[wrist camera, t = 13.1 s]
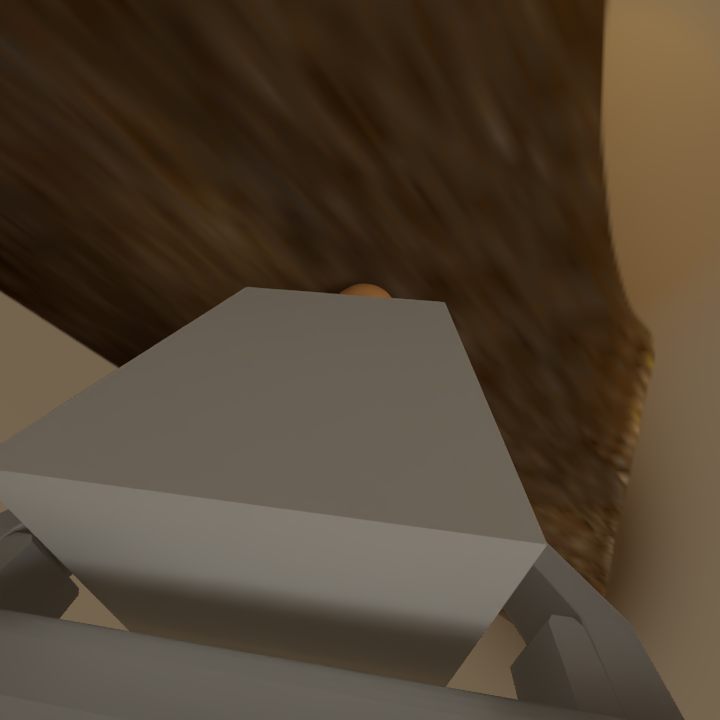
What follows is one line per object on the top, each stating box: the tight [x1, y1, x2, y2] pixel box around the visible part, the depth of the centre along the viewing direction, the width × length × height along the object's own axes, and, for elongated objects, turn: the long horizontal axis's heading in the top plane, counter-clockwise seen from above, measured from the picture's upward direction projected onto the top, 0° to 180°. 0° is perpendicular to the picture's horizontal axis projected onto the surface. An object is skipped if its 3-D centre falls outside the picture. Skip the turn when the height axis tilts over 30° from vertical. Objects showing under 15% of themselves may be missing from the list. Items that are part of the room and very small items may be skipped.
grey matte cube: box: [0, 287, 547, 687], centre depth 8 cm, size 7×7×8 cm
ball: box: [340, 284, 391, 298], centre depth 21 cm, size 5×5×5 cm
